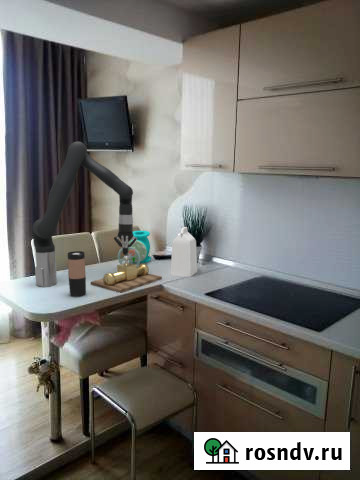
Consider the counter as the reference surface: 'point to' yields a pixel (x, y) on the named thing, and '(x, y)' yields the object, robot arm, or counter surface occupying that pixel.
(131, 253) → the valve lever
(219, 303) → the counter surface
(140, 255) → the valve
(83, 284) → the travel mug
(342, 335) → the counter surface
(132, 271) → the brass valve
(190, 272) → the milk
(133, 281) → the mounting board
